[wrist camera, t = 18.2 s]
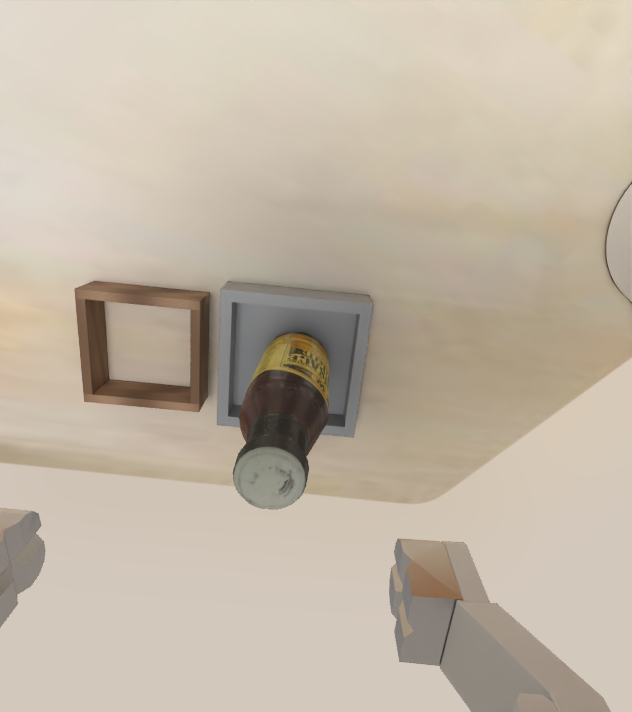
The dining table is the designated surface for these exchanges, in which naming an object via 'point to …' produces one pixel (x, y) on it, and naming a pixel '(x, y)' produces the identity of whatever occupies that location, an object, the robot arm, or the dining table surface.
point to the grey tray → (284, 315)
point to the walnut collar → (96, 346)
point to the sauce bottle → (282, 420)
